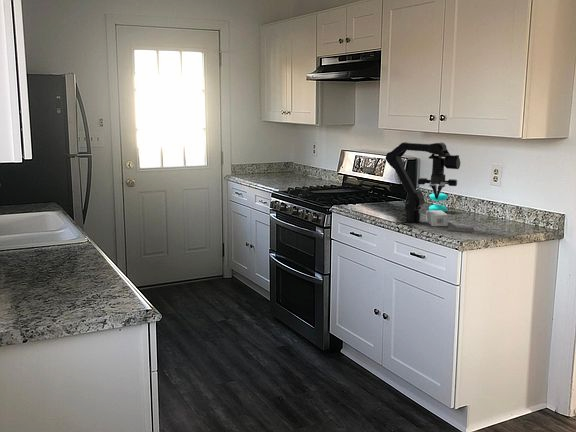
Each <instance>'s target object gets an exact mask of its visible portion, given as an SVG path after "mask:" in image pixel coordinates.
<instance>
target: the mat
mask: <svg viewBox="0 0 576 432" xmlns="http://www.w3.org/2000/svg"><path fill="white" fill-rule="evenodd" d="M473 228H474V226H472V225H461V224H460V225H459V224H449V225H448V228H447V229H446V232H458V233H469V234H470V233H472V231H473Z"/></svg>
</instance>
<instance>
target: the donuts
mask: <svg viewBox="0 0 576 432" xmlns="http://www.w3.org/2000/svg"><path fill="white" fill-rule="evenodd" d="M448 197H449V196H448V195H447V194H446V193H441V192H440V194H439V196H438V199H436V198H435V195H434V192H433V193H431V194H429V199H430V200H432V201H433V202H434V201H435V202H443V201H446V200H447V199H448ZM428 210H442V211H443V212H445V213H446V212H447V210H448V208H447V206H446V205H443V204H432V205H429V207H428Z"/></svg>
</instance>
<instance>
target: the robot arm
mask: <svg viewBox="0 0 576 432" xmlns="http://www.w3.org/2000/svg"><path fill="white" fill-rule="evenodd" d="M407 151H412V152H413V151H414V152H424V153H425V152H426V153H429V154H431V155H429V156H428V159H431V160H432V165H431V166H432V168H431V175H430V179H428V177H419V178H418V180H417V185H425V184H429V187H431V189H432V191H433V193H434V195H435V198H436V199H438V196H439V194H440V193H441V191H442V189H443V188H445V187H446V185H448V186H449V187H457V186H458V180H457V179H453V178H450V179H448V180H446V174H445V168H446V169H451V170H459V169H460V168H461V160H460V155H458V154H456V155H452V154H451V153H450V152H449V150H448V149H447V145H446V143H444V142H435V143H417V142H414V143H413V142H407V141H405V142H401V143H400V144H399V145H398V146H397V147H395V148H393V150H391V151H388V152H387V153H386V155H385V160H386V162H387V164H388V165H389V166H390V167H391V168H393V170H394V171H395V173H396V175H397V176H398V179H399V181H400V183H401V184H402V187H403V188H404V190H405V192H406V194H407V200H408V202H407V203H406V204H405V205H404V210H405V211H406V212H405V213H406V214H405V220H404V221H405V223H416V224H418V223H419V222H420V221H421V212H420V210H421V208H422V207H424V205H425V196H424V195H423V191H421V190H417V189H416V188H415V185H414V183H413V182H412V180H411V178H410V177H409V174H408V172H407V171H406V169H405V167H404V165H403V164H404V163H403V155H405V153H406V152H407ZM437 185H438V186H437Z"/></svg>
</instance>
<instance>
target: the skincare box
mask: <svg viewBox="0 0 576 432" xmlns="http://www.w3.org/2000/svg"><path fill="white" fill-rule="evenodd" d="M425 216H426V218H425V219H426V220H425V221H426V223H428V224H429V225H430V226H431V227H449V225H448V224H449V222H448V220H449V214H448V213H446V212H443V211H442V210H429V209H428V210H426V215H425Z"/></svg>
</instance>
